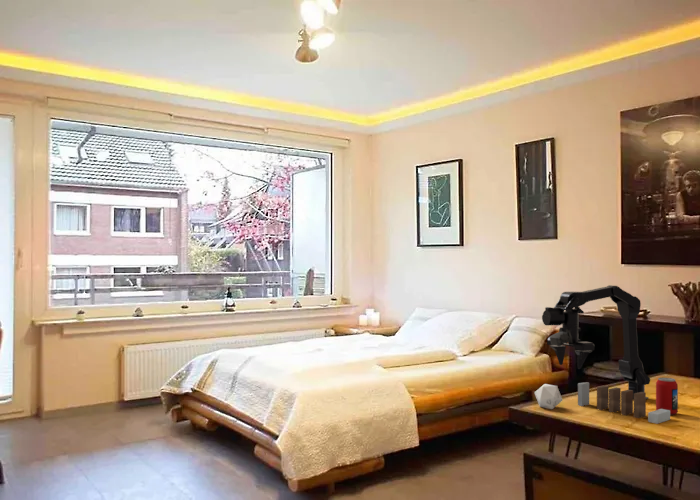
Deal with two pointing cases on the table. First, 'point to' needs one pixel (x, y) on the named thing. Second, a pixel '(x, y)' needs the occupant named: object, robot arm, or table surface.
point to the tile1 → (602, 397)
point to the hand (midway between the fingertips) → (569, 366)
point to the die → (548, 396)
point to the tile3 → (626, 402)
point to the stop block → (659, 416)
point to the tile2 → (614, 399)
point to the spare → (583, 393)
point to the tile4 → (639, 404)
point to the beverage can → (667, 395)
